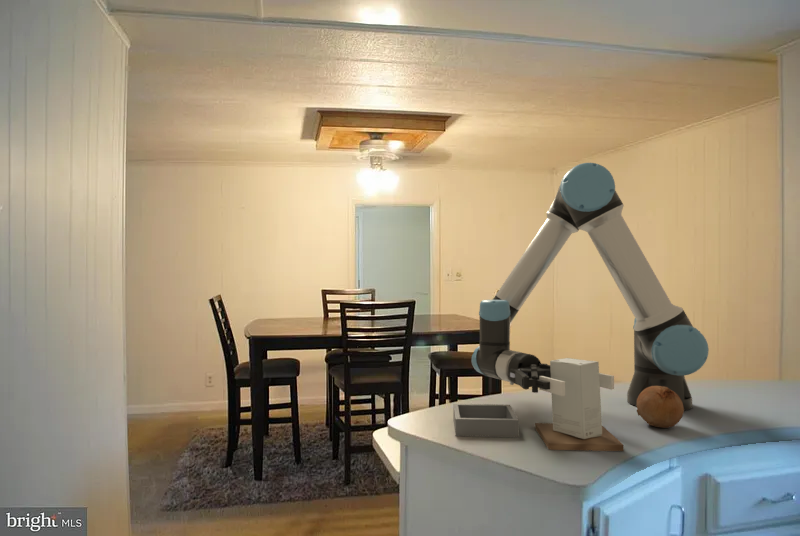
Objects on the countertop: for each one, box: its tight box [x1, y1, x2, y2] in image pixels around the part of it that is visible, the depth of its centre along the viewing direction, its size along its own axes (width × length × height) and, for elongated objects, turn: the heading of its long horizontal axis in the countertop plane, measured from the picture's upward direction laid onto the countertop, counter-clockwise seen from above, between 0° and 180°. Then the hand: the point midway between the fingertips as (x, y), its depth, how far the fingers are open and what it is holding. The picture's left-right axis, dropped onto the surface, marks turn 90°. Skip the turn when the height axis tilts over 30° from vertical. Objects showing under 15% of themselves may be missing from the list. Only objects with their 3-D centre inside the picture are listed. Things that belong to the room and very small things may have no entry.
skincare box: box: [549, 357, 603, 439], centre depth 108 cm, size 8×6×15 cm
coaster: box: [534, 422, 625, 452], centre depth 108 cm, size 14×14×1 cm
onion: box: [636, 386, 685, 429], centre depth 118 cm, size 10×9×10 cm
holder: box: [452, 403, 520, 438], centre depth 116 cm, size 13×13×4 cm
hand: (589, 385), depth 105 cm, fingers open, 12 cm apart
